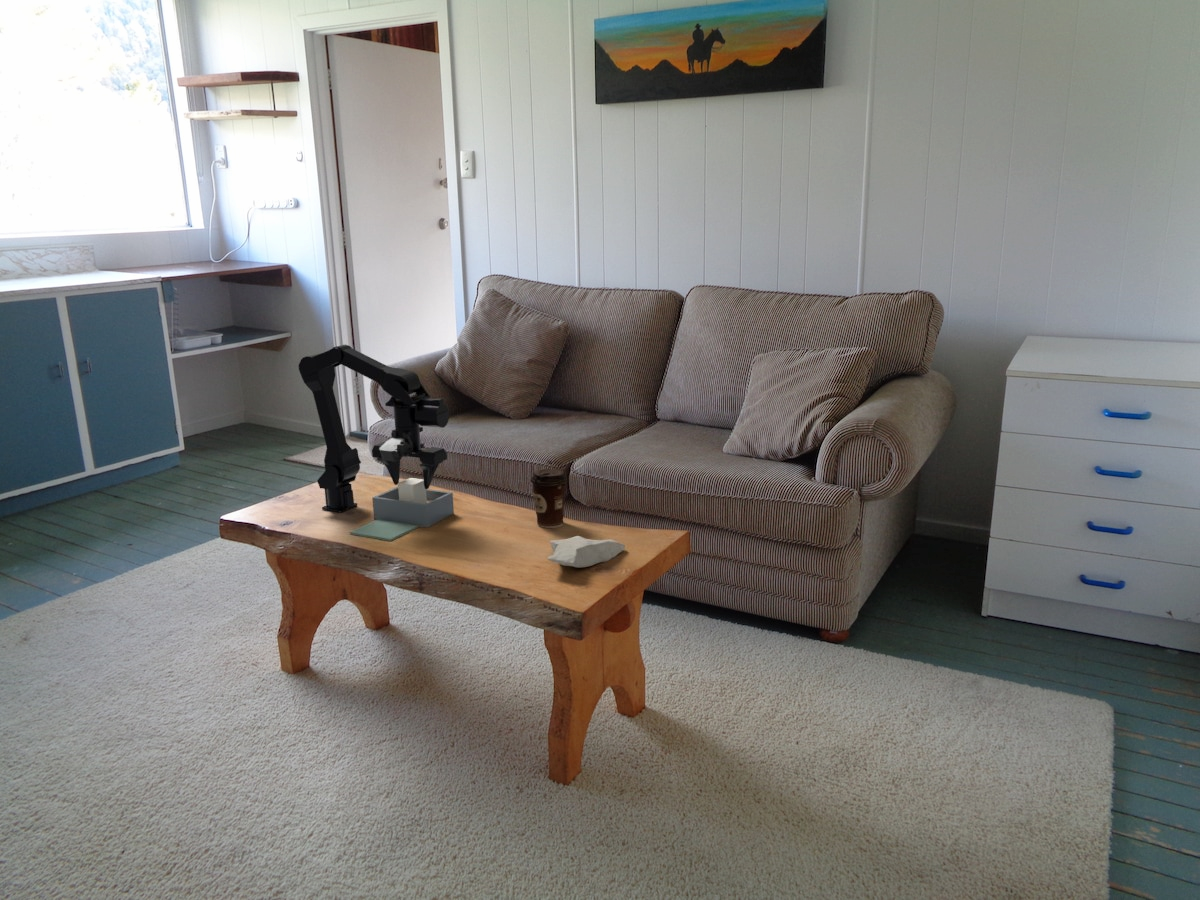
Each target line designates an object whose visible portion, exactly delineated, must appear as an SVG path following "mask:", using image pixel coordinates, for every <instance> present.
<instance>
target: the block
mask: <svg viewBox="0 0 1200 900" xmlns="http://www.w3.org/2000/svg"><path fill="white" fill-rule="evenodd" d="M397 487H398V492H399V500H401V501H407V502H414V503H421V504H426V503H427V496H426V489H425V487H424V479H423V478H415V477H414V478H413V477H409V478H406V479H404V480H402V481H399V483H398V484H397Z"/></svg>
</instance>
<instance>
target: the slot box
mask: <svg viewBox="0 0 1200 900" xmlns="http://www.w3.org/2000/svg"><path fill="white" fill-rule="evenodd" d="M426 496H427V503H426V504H421V503H414V502H407V501H401V500H399V492H398V486H397V487H394V488H392V489H388V490H386V491H384V492H382V493H380V494H378V495H377V494H376V495H375V496H372V508H373V509H372V511H373V519H374V520H377V519H380V520H386V521H392V522H398V523H405V524H411V525H417V526H418V527H423V528H429V527H431V526H433V525H435V524H437V523H438V522H441V521H442V520H445V519H447V518H448V517H450V516H452V515H454V514H455V512H454V511H455V509H454V493H453V492H450V491H444V490H436V489H429V488H428V489H426Z"/></svg>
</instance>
